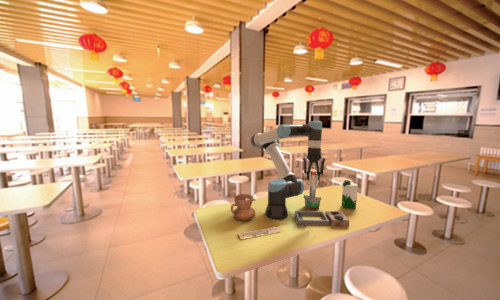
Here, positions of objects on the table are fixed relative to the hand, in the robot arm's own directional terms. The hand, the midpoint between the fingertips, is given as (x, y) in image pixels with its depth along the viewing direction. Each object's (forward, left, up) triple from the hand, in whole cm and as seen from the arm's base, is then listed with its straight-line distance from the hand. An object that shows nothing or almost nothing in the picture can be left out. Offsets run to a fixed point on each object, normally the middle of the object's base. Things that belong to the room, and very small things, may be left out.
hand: (312, 185), depth 128 cm
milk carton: (+32, +21, -24) cm, 45 cm away
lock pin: (0, 0, -7) cm, 7 cm away
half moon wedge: (+4, +16, -24) cm, 29 cm away
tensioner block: (+15, -2, -23) cm, 28 cm away
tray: (0, 0, -23) cm, 23 cm away
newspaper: (-33, -16, -24) cm, 44 cm away
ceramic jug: (-43, +3, -24) cm, 49 cm away
